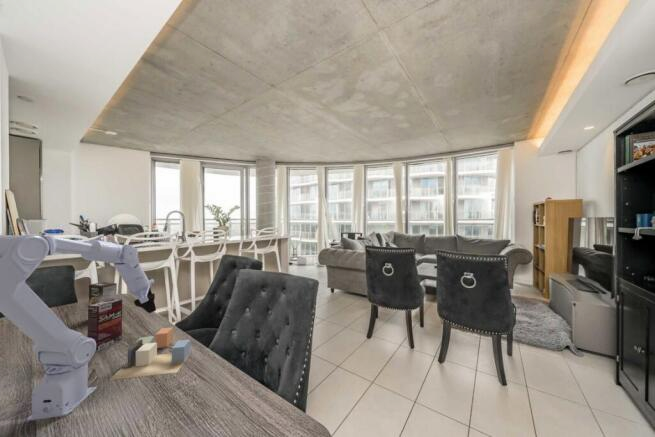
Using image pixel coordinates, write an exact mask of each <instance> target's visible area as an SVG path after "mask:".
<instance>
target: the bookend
mask: <svg viewBox="0 0 655 437" xmlns="http://www.w3.org/2000/svg"><path fill="white" fill-rule="evenodd" d="M138 340H139V339H138ZM138 340H137V341H138ZM137 341H136V342H135V343H134V344H133V345H131V346H130V347H129V348H128V349H127V362H126V363H125V364H124V365H123V366H122V367H121V368H122V369H123V368H131V367H132V366H133V365H134V364H135V363H136V351H137V350H138V349H139V348H140V347H141V346H142V340H139V341H138V342H137Z"/></svg>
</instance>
